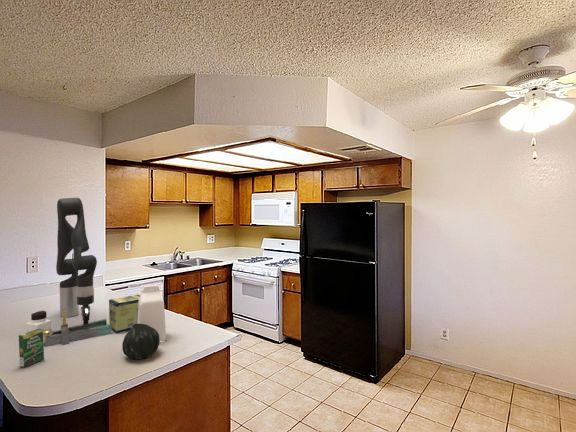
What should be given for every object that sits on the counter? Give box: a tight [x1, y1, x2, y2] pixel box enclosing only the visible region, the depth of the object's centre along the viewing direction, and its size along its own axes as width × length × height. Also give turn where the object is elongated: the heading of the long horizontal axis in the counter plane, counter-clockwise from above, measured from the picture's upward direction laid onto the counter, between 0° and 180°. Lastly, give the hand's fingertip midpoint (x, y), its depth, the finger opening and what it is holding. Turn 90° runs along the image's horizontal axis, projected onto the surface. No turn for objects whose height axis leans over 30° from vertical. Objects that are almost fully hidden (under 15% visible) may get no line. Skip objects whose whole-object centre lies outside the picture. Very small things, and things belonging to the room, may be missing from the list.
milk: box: [138, 284, 167, 343], centre depth 162 cm, size 12×12×26 cm
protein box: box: [108, 294, 141, 335], centre depth 178 cm, size 10×16×16 cm
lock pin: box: [61, 309, 67, 326], centre depth 164 cm, size 2×2×9 cm
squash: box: [121, 324, 160, 360], centre depth 144 cm, size 14×15×15 cm
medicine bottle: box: [26, 310, 52, 338], centre depth 166 cm, size 7×7×12 cm
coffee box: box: [18, 328, 45, 369], centre depth 137 cm, size 8×3×13 cm, turn 159°
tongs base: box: [43, 323, 113, 347], centre depth 164 cm, size 11×29×6 cm, turn 126°
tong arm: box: [50, 318, 108, 335], centre depth 169 cm, size 2×24×4 cm, turn 139°
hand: (85, 327), depth 173 cm, fingers closed
